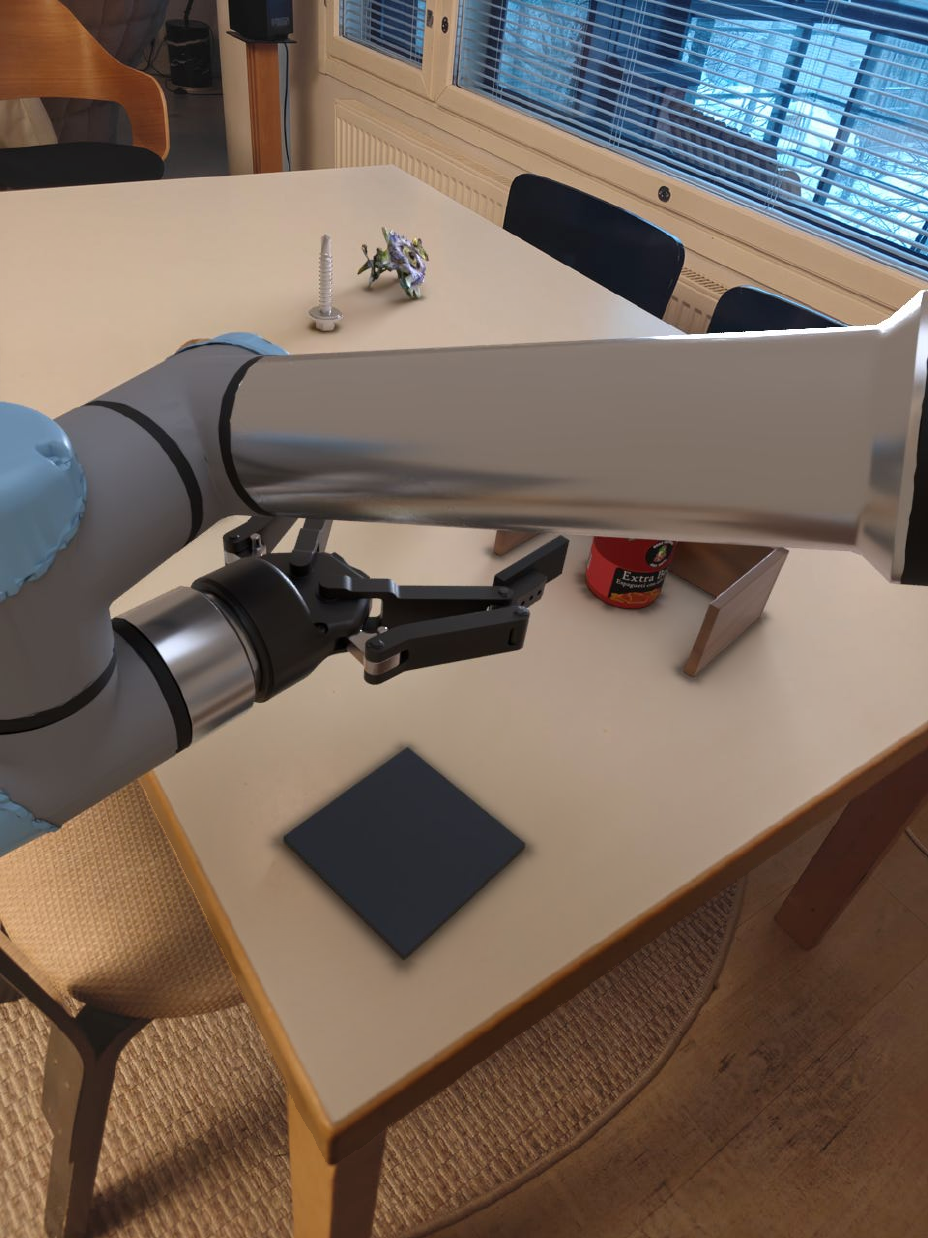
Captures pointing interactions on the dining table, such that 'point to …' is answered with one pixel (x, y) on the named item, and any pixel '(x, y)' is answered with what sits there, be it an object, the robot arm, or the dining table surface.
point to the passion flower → (399, 262)
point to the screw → (325, 291)
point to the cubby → (711, 586)
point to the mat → (404, 849)
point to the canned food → (628, 569)
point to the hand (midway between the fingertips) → (483, 507)
